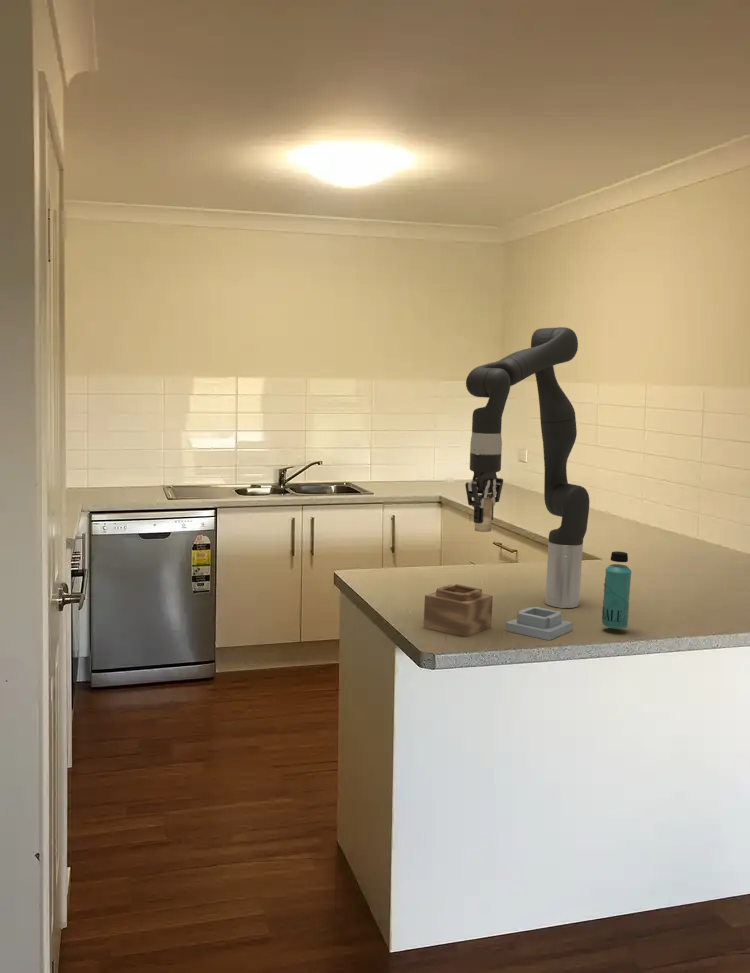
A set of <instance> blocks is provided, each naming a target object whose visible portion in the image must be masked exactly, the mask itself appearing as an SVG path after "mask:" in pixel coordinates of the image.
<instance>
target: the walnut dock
mask: <svg viewBox="0 0 750 973" xmlns="http://www.w3.org/2000/svg"><path fill="white" fill-rule="evenodd" d="M493 598H494V596H493V595H490V594H487V593H483V589H482V588H478V587H472V586H467V585H463V584H457V583H456V584H448V585H444V586H441V587H438V588H436V591H435V592H433V593H429V594H425V595H424V609H423V628H424V629H429V630H434V631H437V632H441V633H446V634H449V635H450V634H451V635H454V636H458V637H462V638H466V637H467V638H468V637H469V636H471V635H474V634H477V633H480V632H483V631H486V630H488V629H491V628H492V617H493V616H492V615H493Z"/></svg>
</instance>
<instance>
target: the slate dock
mask: <svg viewBox="0 0 750 973" xmlns="http://www.w3.org/2000/svg"><path fill="white" fill-rule="evenodd" d="M562 617H563V611H558V610H554V609H549V608H543V607H539V606H534V607H530V606H529V607H526V608H523V609H521V610H517V614H516V618H514V619H511V620H509V621H506V622H505V628H504V629H505V630H504V631H506V632H511V633H515V634H519V635H523V636H528V637H533V638H538V639H541V640H545V641H551V640H553V639H556V638H558V637H560V636H562V635H566V634H567V633H569V632H572V631H573V622H571V621H566V620H563V618H562Z"/></svg>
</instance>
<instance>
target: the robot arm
mask: <svg viewBox="0 0 750 973" xmlns="http://www.w3.org/2000/svg"><path fill="white" fill-rule="evenodd" d="M577 336H578V335H577V334H576V333H575V331H574V330H573V329H571V328H570V327H564V326H563V327H562V326H561V327H560V326H559V327H546V328H544V327H543V328H537V329H536V330H534V331H533V333H532V335H531V338H530V347H529V348H528V347H527V348H525V349H520V350H519V351H515V352H513V353H512V352H511V353H510V354H509V355H506V356H505V357H502V358H501V359H500V360H497V361H493V362H489V363H485V364H482V365H479V366H476V367H474V368H473V369H472V370H471V371H470V372H469V373H468V375H467V377H466V379H465V380H466V381H465V385H466V386H465V387H466V390H467V391H468V393H469V394H470V395H471V396H472V397H473V396H474V397H476V398H487V399H488V401H487V403H486V405H485V406H483V407H482V406H481V407H477V408H475V409H474V410H473V412H472V421H471V437H470V446H469V447H470V448H469V470H470V471H471V472H472V473H473V476H472V480H471V481H470V482H468V481H467V482H466V483H465V485H464V486H465V492H466V498H467V504H468V506H472V507H473V522H474V524H475V523H483V505H484V500H485V499H486V498H487V497H490V498H492V521H494V507H495V505H496V503H499V502H500V498H501V493H502V489H503V485H504V484H503V483H504V479H503V478H501V477H500V478H499V477H498V476H497V473H499V472H500V471H501V470H502V453H503V452H502V449H503V447H502V446H503V440H502V420H503V419H502V418H503V413H504V410H505V407H506V403H507V400H508V398H509V395H510V391H511V387H512V386H514V385H517V384H518V383H520V382H522V381H523V380H525V379H526V378H528V377H530V376H532V375H535V378H536V379H535V382H536V386H537V393H538V402H539V403H538V404H539V417H540V419H539V420H540V429H541V439H542V447H543V449H542V450H543V463H544V465H543V466H544V477H543V478H544V481H543V482H544V484H543V485H544V490H543V491H544V492H543V493H544V494H543V495H544V496H543V497H544V505H545V508H546V510H547V511H548V512H549V513H550V514H551V515H552V516H557V517H561V522H560V526H559V527H558V528H555V529H554V528H553V529H551V530H550V531H549V532H548V543H547V547H548V548H547V562H546V577H545V594H544V595H545V596H544V604H546V605H547V606H550V607H555V608H560V609H561V608H562V609H563V608H564V609H571V608H577V607H579V606H580V602H581V601H580V599H581V598H580V597H581V586H582V585H581V583H582V563H583V550H584V549H583V548H584V537H585V535H586V533H587V530H588V522H589V521H588V520H589V514H590V512H589V511H590V503H591V502H590V496H589V491H588V490H587V489H586V488H585V487H584V486H581V485H578V484H572V483H568V481H569V480H568V474H567V464H568V459H569V456H570V454H571V452H572V450H573V447H574V445H575V442H576V440H577V433H578V430H577V420H576V419H577V418H576V410H575V408H574V406H573V404H572V402H571V400H570V399H569V397H568V396H567V395H566V394H565V392H564V391H563V389H562V387H561V386H560V385H559V382H558V380H557V376H556V374H555V368H554V366H556V365H560V364H563V363H567V362H570V361H571V360H574V357H575V356H576V355H577V352H578V349H579V340H578V337H577ZM479 498H480V502H479Z"/></svg>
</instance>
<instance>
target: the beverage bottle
mask: <svg viewBox="0 0 750 973" xmlns="http://www.w3.org/2000/svg"><path fill="white" fill-rule="evenodd" d="M628 555H629V554H628V552H624V551H617V550H616V551H612V552H611V555H610V561H611V562H615V563H613V564H609V565H608V566H607V567H606V568H605V577H604V583H603V588H604V589H603V599H602V616H601V623H602V625H603V626H604V627H605V628H609V629H617V630H618V629H619V630H620V629H621V630H622V629H626V628H627V627H628V623H629V613H630V612H629V610H630V595H631V594H630V592H631V579H632V570H631V569H630V568H629V566H627V565H624V564H619V563H628V561H629V559H628V558H629V556H628Z"/></svg>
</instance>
